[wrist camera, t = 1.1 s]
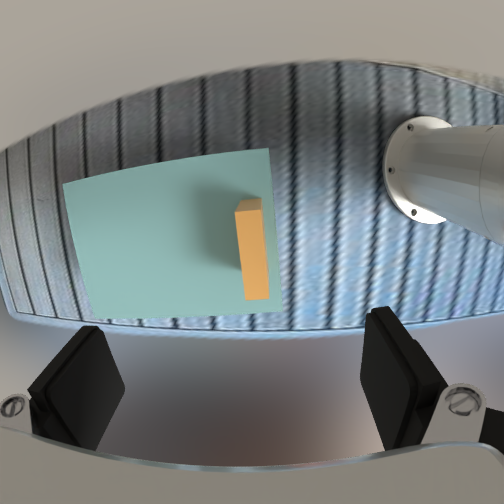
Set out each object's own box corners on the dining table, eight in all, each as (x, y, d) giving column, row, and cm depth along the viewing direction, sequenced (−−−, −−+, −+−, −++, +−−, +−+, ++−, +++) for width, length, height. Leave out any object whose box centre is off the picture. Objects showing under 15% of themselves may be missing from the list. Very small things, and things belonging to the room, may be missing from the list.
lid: (268, 148, 25) (269, 145, 17) (281, 297, 29) (285, 343, 22) (77, 180, 26) (27, 192, 19) (106, 306, 30) (71, 344, 23)
